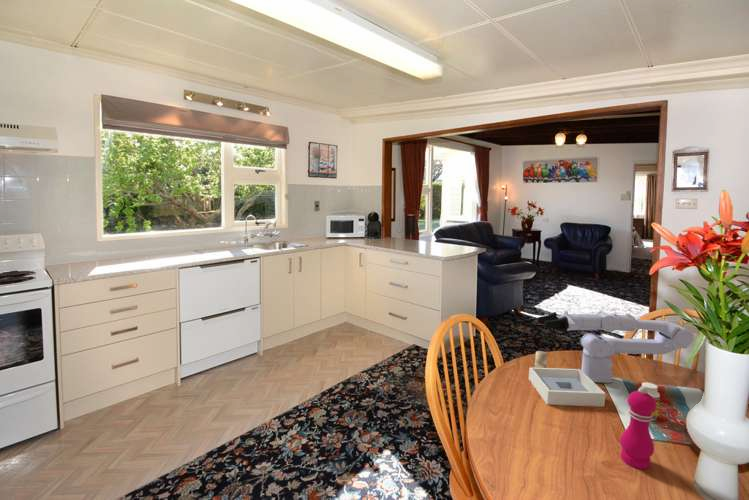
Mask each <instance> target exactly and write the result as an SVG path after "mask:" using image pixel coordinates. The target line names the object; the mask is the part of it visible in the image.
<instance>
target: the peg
mask: <svg viewBox="0 0 749 500" xmlns="http://www.w3.org/2000/svg"><path fill="white" fill-rule="evenodd" d="M547 358H548V353H547V352H546V351H543V350H542V351H541V350H537V351H535V361H534V368H547V362H548V361H547V360H548V359H547Z"/></svg>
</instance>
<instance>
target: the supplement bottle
mask: <svg viewBox="0 0 749 500" xmlns="http://www.w3.org/2000/svg"><path fill="white" fill-rule="evenodd" d="M641 387H645V388H646V389H647V393H648V394H650V395H651V396H652V397H653V398H654V399H655V401H656V410H655V411H654V412H653V413H652V414H653V416H652V421H651V422H653V421H656V420H657V419H658V412H659V406H660V397H661V394H660V392H658V385H656V384H654V383H652V382H646V381H645V382H644V381H643V382H642V383H641ZM637 391H639V388H638V389H637Z"/></svg>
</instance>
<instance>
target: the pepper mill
mask: <svg viewBox="0 0 749 500" xmlns="http://www.w3.org/2000/svg"><path fill="white" fill-rule="evenodd" d="M638 389H639V391H638V390H635V391H632V392H631V393H630V394H628V396H627V404H628V406H629V408H628V415H629V416H630V417H629V419H630V420H629V424H628V426H627V427H626V429H625V430H624V431H623V433H622V434H621V436H620V440H619V443H620V446H621V447H622V448H621V451H620V458H621V460H622V461H623V462H624V463H625V464H627V465H628V466H630V467H633V468H634V469H635V468H636V469H640V470H643V469H644V470H645V469H648V468H650V466H651V465H650V464H651V457H652V456H653V455H654V453H655V445H654V441H653V438H652V437H651V433H650V429H649V427H650V422H653V421H652V416H653V414H652V413H653V412H654V411H655V410H656V401H655V399H654V398H653V397H652V396H651V395H650V394H648V393H647V389H646V388H645V387H642V386H640V387H639V388H638Z"/></svg>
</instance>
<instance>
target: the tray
mask: <svg viewBox="0 0 749 500" xmlns="http://www.w3.org/2000/svg"><path fill="white" fill-rule="evenodd" d="M528 370H529V371H528V381H531V382H530V384H532V386H533V388H536V389H535V390H536V391H537V393H538V394H539V395H540V397H541V398H542V399H543V401H544V403H545V404H546V405H554V406H578V407H579V406H580V407H605V404H606V403H605V402H606V395H607V394H606V392H605V391H604V390H602V388H601V387H600V386H599V385H597V384H596V382H593V381H592V380H591V379H590V378H589V377H588V376H587V375H585V374H584V373H583V372H582V371H581V369H580V368H557V367H556V368H555V367H546V368H535V367H529V368H528ZM541 377H553V378H576V379H577V380H578V381H579V382H580V383H581V384H582V385H583V386H584V387H585V388H586V389H587V390H588V391H589V392H584V391H557V390H549V389H548V387H547V386H546V385H545V384H544V382H543V381H542V380H541ZM561 389H570V388H561Z"/></svg>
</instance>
